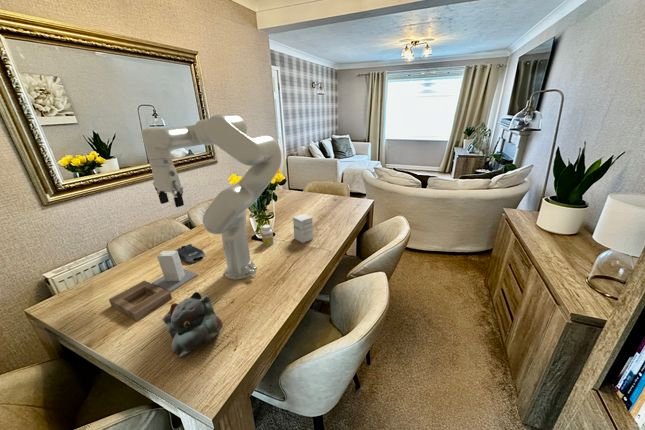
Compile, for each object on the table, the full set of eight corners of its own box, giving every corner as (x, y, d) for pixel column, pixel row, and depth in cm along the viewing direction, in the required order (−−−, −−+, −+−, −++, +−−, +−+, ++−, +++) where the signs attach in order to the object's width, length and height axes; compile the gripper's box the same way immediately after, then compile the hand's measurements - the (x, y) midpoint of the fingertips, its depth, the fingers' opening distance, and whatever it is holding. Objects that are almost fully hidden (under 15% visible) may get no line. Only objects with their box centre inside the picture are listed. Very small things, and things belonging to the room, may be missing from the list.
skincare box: (185, 275, 105) (178, 249, 100) (179, 282, 101) (172, 255, 96) (170, 275, 105) (163, 250, 100) (164, 282, 101) (156, 255, 96)
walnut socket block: (172, 298, 92) (170, 292, 91) (137, 321, 82) (134, 314, 81) (146, 286, 99) (144, 280, 98) (111, 306, 89) (108, 299, 88)
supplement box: (293, 238, 134) (292, 216, 130) (305, 234, 139) (303, 213, 134) (302, 243, 129) (300, 221, 124) (313, 239, 134) (312, 217, 129)
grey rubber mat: (197, 275, 105) (197, 274, 105) (170, 292, 96) (170, 291, 95) (179, 268, 111) (179, 267, 110) (151, 283, 101) (151, 282, 101)
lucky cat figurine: (166, 365, 68) (145, 317, 67) (184, 343, 80) (166, 303, 79) (220, 340, 70) (200, 293, 69) (230, 322, 82) (213, 283, 81)
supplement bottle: (263, 241, 133) (261, 224, 129) (274, 240, 133) (272, 223, 129) (262, 246, 128) (260, 228, 124) (273, 245, 128) (271, 228, 124)
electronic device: (174, 259, 121) (189, 265, 112) (172, 248, 120) (187, 253, 111) (193, 253, 128) (209, 258, 119) (191, 243, 127) (207, 247, 118)
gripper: (185, 162, 96) (194, 204, 103) (157, 159, 104) (167, 199, 110) (166, 165, 90) (177, 210, 96) (138, 162, 97) (150, 204, 104)
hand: (172, 204), depth 103 cm, fingers open, 9 cm apart
